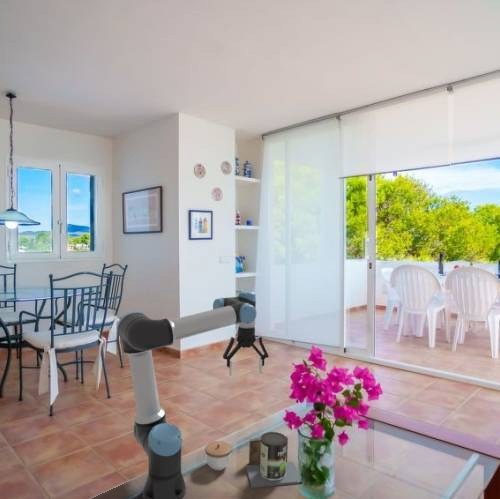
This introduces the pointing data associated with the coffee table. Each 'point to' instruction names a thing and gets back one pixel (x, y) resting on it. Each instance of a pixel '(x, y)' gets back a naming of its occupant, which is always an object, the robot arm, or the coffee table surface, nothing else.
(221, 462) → the lidded jar
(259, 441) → the walnut screen
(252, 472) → the slate mat
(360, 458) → the coffee table surface
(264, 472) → the coffee can
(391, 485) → the coffee table surface
